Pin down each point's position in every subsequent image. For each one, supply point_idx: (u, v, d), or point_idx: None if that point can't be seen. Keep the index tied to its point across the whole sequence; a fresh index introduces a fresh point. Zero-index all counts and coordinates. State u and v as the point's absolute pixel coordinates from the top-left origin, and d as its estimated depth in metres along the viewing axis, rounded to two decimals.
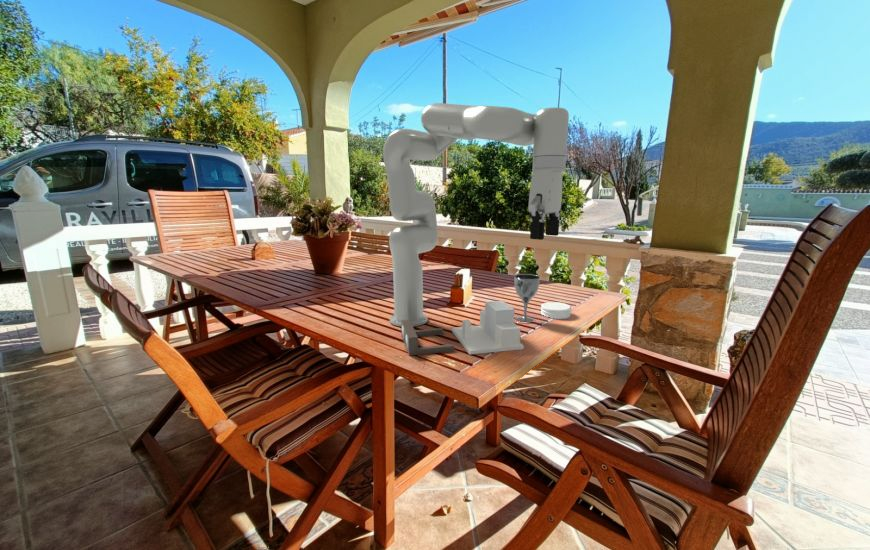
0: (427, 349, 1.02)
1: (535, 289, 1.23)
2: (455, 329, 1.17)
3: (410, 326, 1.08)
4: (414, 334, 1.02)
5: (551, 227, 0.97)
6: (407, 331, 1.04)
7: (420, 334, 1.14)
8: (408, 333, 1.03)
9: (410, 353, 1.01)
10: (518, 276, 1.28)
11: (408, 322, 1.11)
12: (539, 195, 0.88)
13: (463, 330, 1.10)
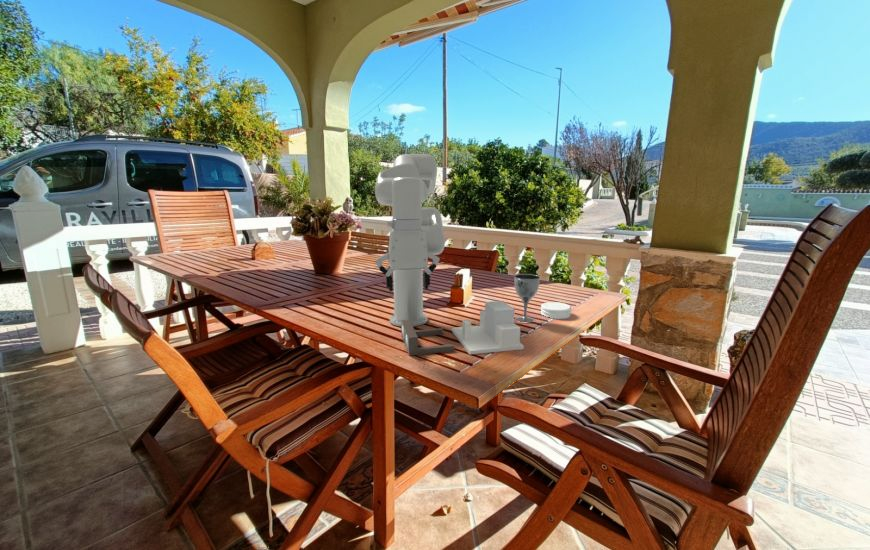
0: (427, 349, 1.02)
1: (535, 289, 1.23)
2: (455, 329, 1.17)
3: (410, 326, 1.08)
4: (414, 334, 1.02)
5: None
6: (407, 331, 1.04)
7: (420, 334, 1.14)
8: (408, 333, 1.03)
9: (410, 353, 1.01)
10: (518, 276, 1.28)
11: (408, 322, 1.11)
12: (426, 251, 1.03)
13: (463, 330, 1.10)
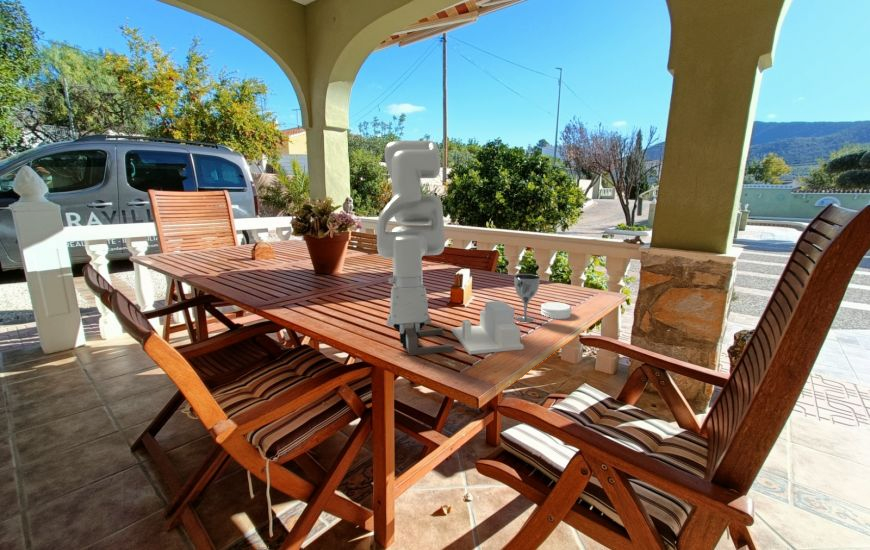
0: (427, 349, 1.02)
1: (535, 289, 1.23)
2: (455, 329, 1.17)
3: (410, 326, 1.08)
4: (414, 334, 1.02)
5: None
6: (407, 331, 1.04)
7: (420, 334, 1.14)
8: (408, 333, 1.03)
9: (410, 353, 1.01)
10: (518, 276, 1.28)
11: None
12: None
13: (463, 330, 1.10)
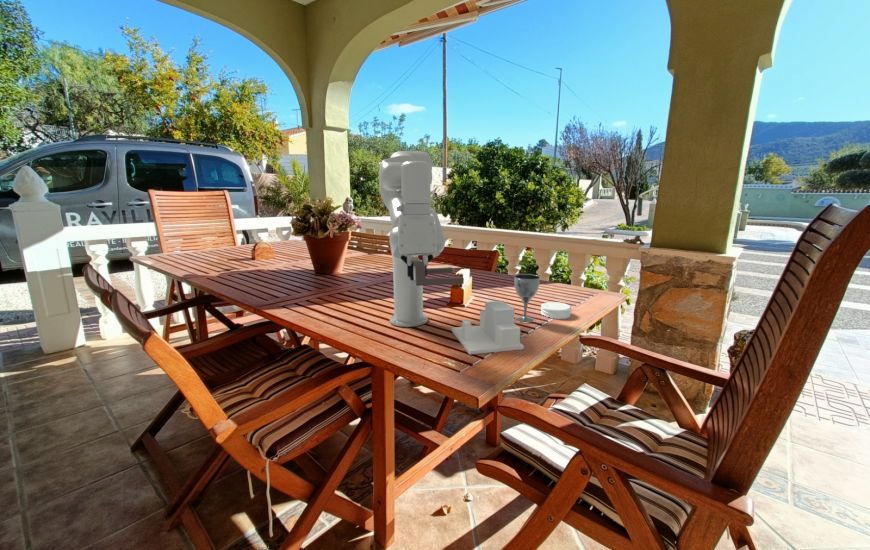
0: (435, 280, 0.98)
1: (535, 289, 1.23)
2: (455, 329, 1.17)
3: (418, 260, 1.04)
4: (422, 264, 0.98)
5: None
6: (415, 263, 1.00)
7: (429, 272, 1.10)
8: (415, 264, 0.99)
9: (417, 283, 0.97)
10: (518, 276, 1.28)
11: (416, 258, 1.07)
12: None
13: (463, 330, 1.10)
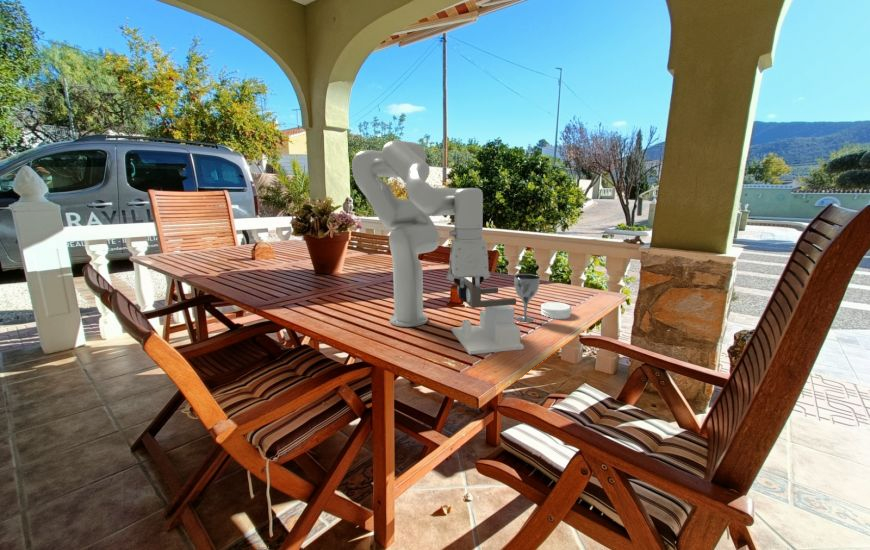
0: (490, 302, 1.01)
1: (535, 289, 1.23)
2: (455, 329, 1.17)
3: (469, 282, 1.08)
4: (476, 287, 1.02)
5: None
6: (468, 285, 1.04)
7: None
8: (470, 286, 1.02)
9: (473, 305, 1.00)
10: (518, 276, 1.28)
11: (465, 279, 1.11)
12: None
13: (463, 330, 1.10)
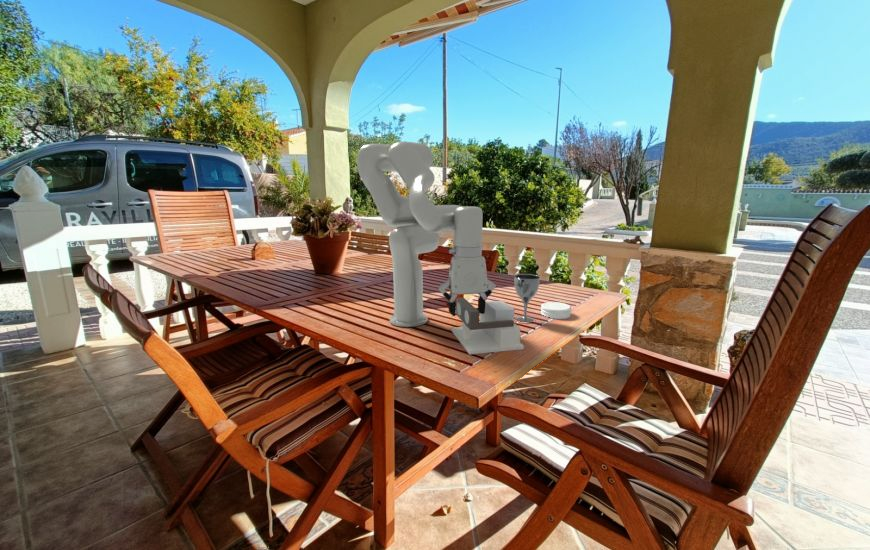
0: (488, 324, 1.03)
1: (535, 289, 1.23)
2: (455, 329, 1.17)
3: (467, 303, 1.09)
4: (475, 309, 1.03)
5: None
6: (466, 307, 1.05)
7: None
8: (468, 308, 1.04)
9: (471, 328, 1.02)
10: (518, 276, 1.28)
11: (464, 299, 1.13)
12: None
13: (463, 330, 1.10)
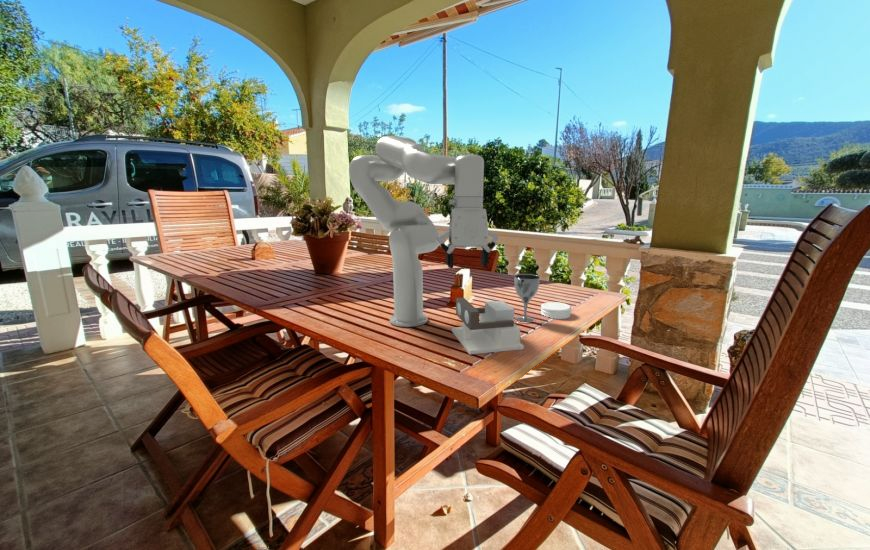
0: (488, 324, 1.03)
1: (535, 289, 1.23)
2: (455, 329, 1.17)
3: (467, 303, 1.09)
4: (475, 309, 1.03)
5: None
6: (466, 307, 1.05)
7: None
8: (468, 308, 1.04)
9: (471, 328, 1.02)
10: (518, 276, 1.28)
11: (464, 299, 1.13)
12: None
13: (463, 330, 1.10)
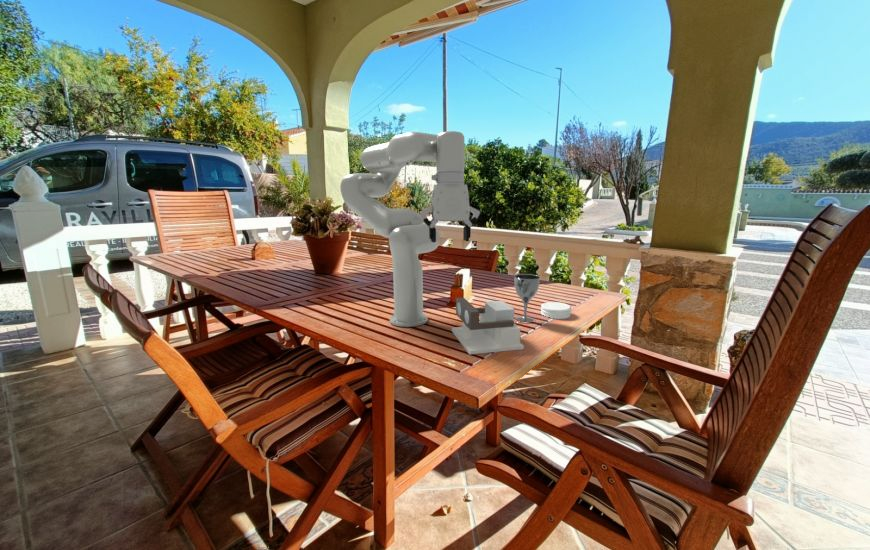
0: (488, 324, 1.03)
1: (535, 289, 1.23)
2: (455, 329, 1.17)
3: (467, 303, 1.09)
4: (475, 309, 1.03)
5: None
6: (466, 307, 1.05)
7: None
8: (468, 308, 1.04)
9: (471, 328, 1.02)
10: (518, 276, 1.28)
11: (464, 299, 1.13)
12: None
13: (463, 330, 1.10)
